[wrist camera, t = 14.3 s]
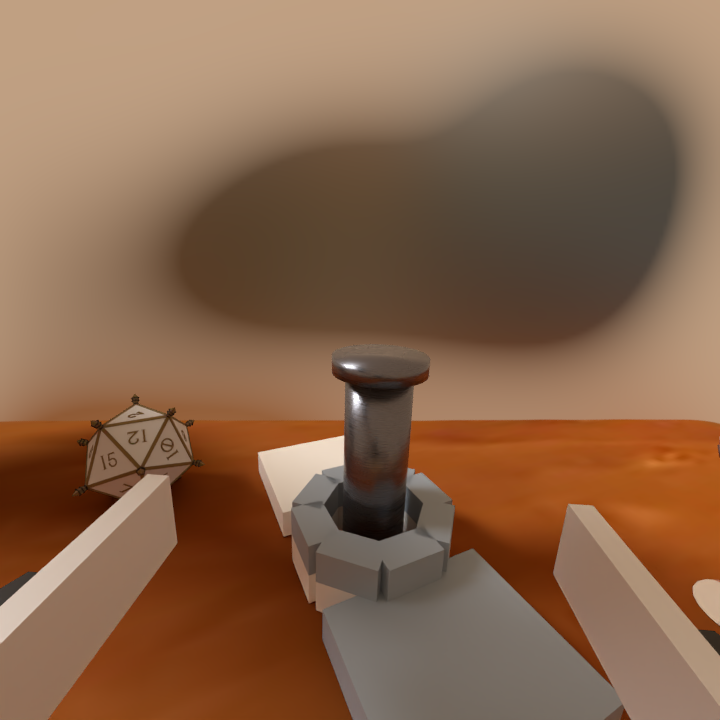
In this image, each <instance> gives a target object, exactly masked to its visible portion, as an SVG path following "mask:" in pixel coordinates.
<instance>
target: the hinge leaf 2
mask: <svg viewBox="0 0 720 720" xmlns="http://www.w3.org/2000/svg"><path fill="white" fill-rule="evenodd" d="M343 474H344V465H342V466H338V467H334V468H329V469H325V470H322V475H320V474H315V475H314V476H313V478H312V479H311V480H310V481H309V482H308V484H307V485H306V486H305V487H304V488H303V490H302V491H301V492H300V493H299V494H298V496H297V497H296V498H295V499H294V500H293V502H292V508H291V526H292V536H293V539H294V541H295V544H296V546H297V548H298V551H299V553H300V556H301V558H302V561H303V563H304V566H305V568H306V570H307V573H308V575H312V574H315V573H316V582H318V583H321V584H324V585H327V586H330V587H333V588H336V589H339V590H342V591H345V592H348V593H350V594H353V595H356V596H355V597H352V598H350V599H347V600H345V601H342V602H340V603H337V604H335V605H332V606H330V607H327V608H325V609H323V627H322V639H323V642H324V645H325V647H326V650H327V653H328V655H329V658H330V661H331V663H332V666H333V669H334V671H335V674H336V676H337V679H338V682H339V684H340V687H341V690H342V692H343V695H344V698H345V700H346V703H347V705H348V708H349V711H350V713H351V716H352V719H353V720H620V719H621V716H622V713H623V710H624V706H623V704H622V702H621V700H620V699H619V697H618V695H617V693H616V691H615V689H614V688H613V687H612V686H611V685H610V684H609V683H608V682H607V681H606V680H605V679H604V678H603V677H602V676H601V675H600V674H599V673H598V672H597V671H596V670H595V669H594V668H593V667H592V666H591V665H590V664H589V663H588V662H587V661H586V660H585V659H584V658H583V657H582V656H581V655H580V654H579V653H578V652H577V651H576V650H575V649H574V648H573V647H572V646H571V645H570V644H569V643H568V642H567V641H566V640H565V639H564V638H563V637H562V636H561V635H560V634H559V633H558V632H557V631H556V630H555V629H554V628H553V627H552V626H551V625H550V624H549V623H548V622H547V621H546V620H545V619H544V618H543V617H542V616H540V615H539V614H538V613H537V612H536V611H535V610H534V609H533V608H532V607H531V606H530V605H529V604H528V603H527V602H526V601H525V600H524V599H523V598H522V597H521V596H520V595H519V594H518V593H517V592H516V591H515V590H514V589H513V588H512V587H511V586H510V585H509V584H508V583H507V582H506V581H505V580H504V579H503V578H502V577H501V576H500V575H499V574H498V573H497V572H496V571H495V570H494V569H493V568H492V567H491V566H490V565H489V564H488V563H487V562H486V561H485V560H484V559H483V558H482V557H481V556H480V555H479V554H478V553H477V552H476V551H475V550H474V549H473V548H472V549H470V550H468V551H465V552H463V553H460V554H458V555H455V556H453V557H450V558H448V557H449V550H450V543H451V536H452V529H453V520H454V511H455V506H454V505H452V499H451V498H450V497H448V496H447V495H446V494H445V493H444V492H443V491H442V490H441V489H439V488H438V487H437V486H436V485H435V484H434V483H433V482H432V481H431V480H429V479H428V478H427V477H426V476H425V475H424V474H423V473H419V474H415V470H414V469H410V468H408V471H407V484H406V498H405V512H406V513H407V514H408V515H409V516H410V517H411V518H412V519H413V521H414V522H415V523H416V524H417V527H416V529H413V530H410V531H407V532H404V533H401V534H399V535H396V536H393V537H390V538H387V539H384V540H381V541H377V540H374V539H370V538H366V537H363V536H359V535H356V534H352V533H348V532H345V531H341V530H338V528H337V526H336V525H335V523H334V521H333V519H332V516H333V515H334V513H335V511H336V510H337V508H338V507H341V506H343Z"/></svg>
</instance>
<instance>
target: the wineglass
mask: <svg viewBox="0 0 720 720" xmlns="http://www.w3.org/2000/svg"><path fill="white" fill-rule="evenodd" d="M718 453H719V457H720V438H719V445H718ZM693 595H694V597H695V599H696V601H697V603H698V605H699V606H700V607H701V608H702V609H703V611H704V612H705V613H706V614H707V615H708V616H709V617H710V618H711V619H712V620H713V621H715V622H716V623H717V624H718V625H719V626H720V580H710V579H705V580H701V581H697V582H696V584H695V585H694V586H693Z"/></svg>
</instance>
